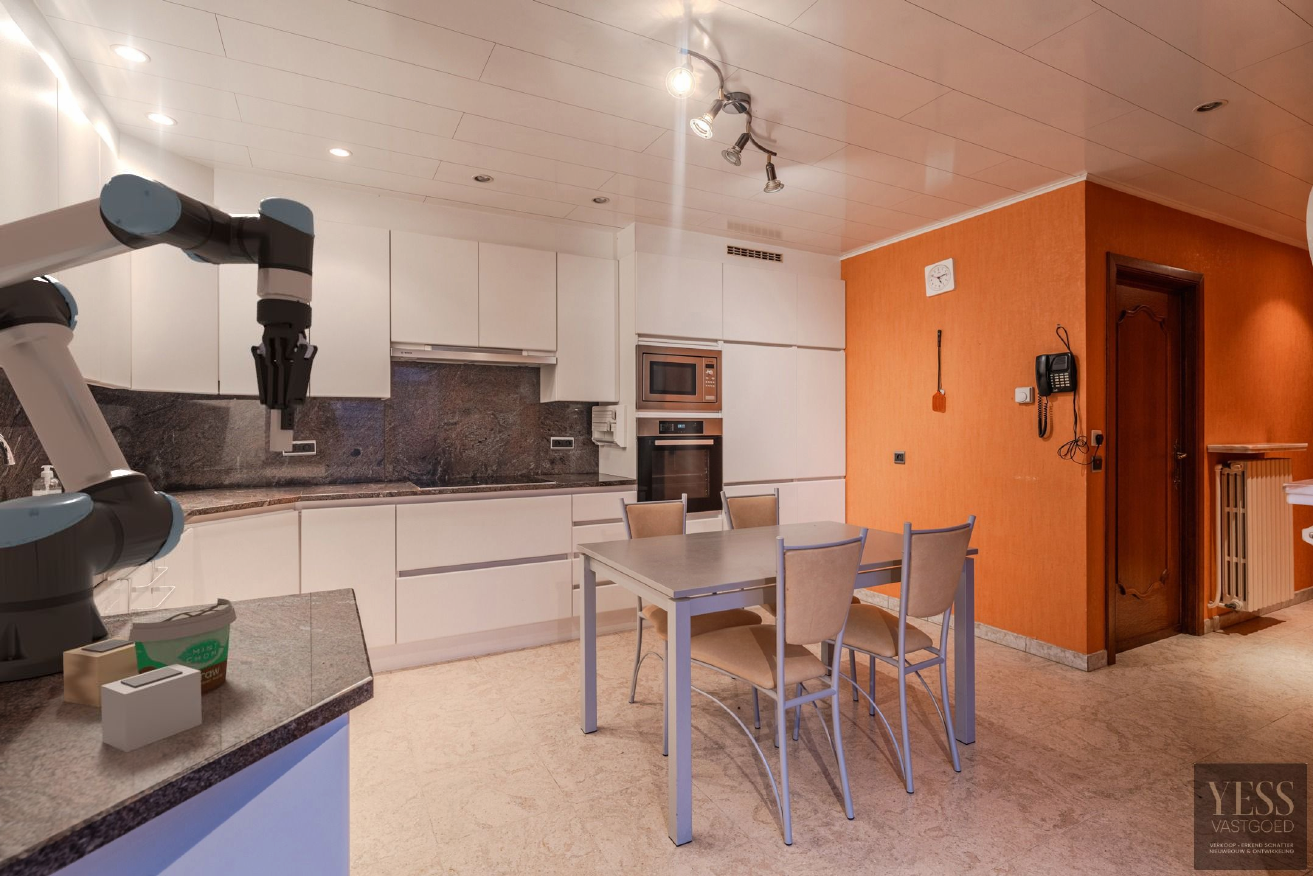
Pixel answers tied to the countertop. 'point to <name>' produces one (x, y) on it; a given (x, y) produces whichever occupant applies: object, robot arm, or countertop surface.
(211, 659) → the food container
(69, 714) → the countertop surface
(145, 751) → the countertop surface
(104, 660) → the oak block
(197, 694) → the grey painted block
